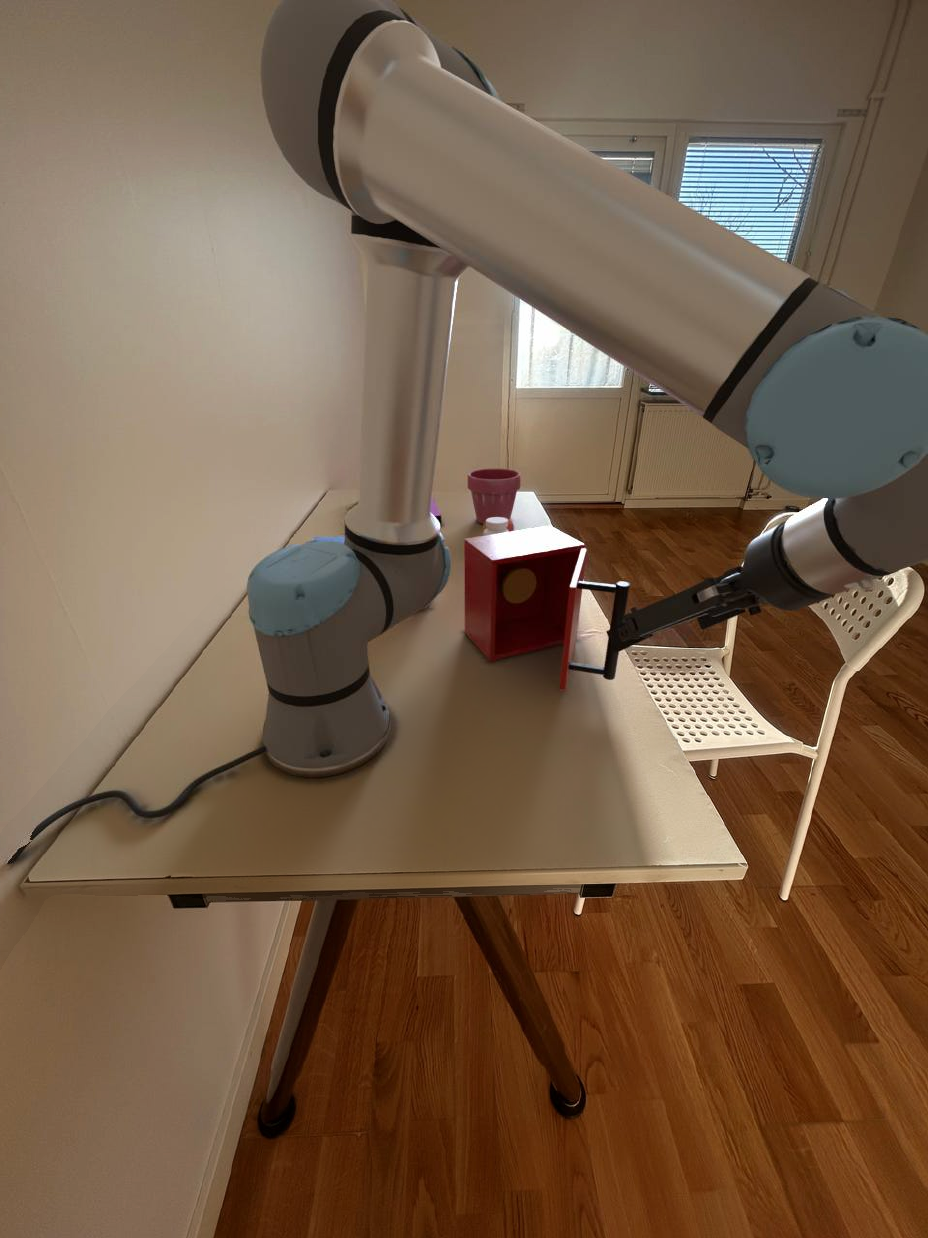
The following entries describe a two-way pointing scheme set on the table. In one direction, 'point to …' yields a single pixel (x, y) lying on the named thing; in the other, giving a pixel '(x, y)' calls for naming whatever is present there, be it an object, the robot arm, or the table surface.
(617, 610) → the red cabinet door
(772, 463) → the robot arm
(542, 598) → the cabinet
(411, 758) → the table surface
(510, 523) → the apple
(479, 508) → the flower pot
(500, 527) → the pill bottle
